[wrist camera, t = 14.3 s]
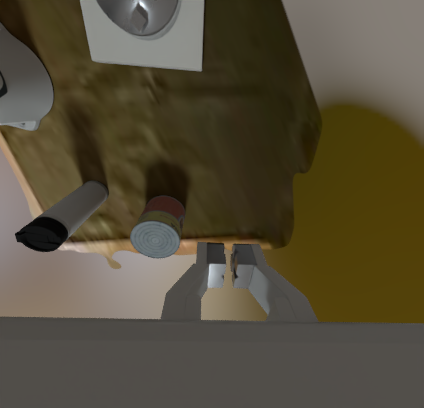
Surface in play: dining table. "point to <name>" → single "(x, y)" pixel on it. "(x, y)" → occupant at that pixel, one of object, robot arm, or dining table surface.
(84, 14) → the white square board
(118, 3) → the silver brown l-shaped piece
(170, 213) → the canned food
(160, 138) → the dining table surface
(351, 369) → the robot arm
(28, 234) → the travel mug
